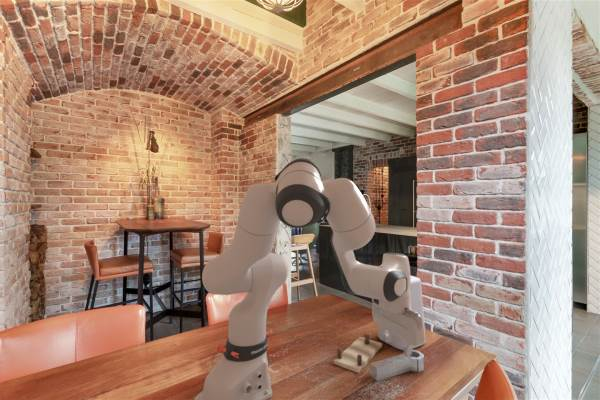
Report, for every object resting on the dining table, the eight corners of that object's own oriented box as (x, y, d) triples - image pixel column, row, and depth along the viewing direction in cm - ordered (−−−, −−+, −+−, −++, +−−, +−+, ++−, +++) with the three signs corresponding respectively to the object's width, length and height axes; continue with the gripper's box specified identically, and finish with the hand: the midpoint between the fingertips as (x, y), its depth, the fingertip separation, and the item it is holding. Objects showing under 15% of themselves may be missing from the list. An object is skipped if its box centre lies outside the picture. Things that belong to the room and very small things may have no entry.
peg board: (358, 373, 92) (358, 359, 92) (333, 363, 98) (333, 351, 98) (381, 346, 109) (381, 335, 109) (359, 339, 115) (359, 329, 115)
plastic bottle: (398, 328, 124) (397, 263, 125) (430, 343, 112) (429, 270, 112) (373, 337, 116) (372, 268, 116) (404, 354, 104) (404, 276, 104)
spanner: (380, 384, 86) (380, 371, 87) (367, 373, 92) (367, 360, 92) (427, 368, 95) (427, 356, 95) (413, 359, 100) (413, 347, 100)
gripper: (429, 313, 84) (430, 361, 83) (383, 293, 103) (384, 332, 102) (413, 316, 81) (413, 365, 81) (368, 295, 100) (369, 335, 100)
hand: (396, 346), depth 92 cm, fingers open, 8 cm apart
